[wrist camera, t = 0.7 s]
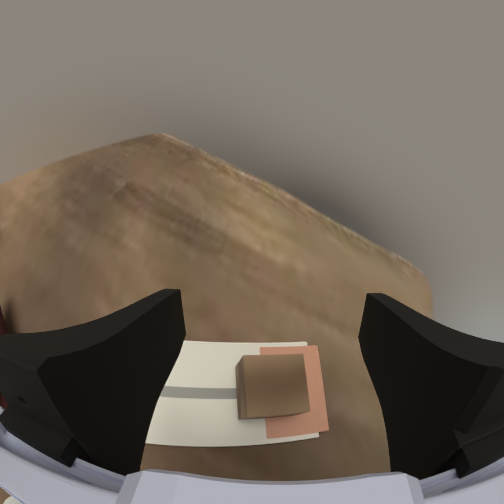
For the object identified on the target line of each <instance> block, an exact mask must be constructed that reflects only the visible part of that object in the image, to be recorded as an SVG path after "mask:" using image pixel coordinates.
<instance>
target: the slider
mask: <svg viewBox="0 0 504 504" xmlns="http://www.w3.org/2000/svg"><path fill="white" fill-rule="evenodd" d="M235 372H236V391H237V408H238V420H242V419H262V418H275V417H286V416H294V415H298V414H303V413H307V412H310V403H309V395H308V387H307V379H306V371H305V363H304V356H303V354H282V355H243V356H242V358H241V359H240V361H239V362H238V363H237V365H236V366H235Z"/></svg>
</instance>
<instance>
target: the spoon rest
mask: <svg viewBox="0 0 504 504" xmlns="http://www.w3.org/2000/svg"><path fill="white" fill-rule="evenodd" d="M3 504H22V503H20V502H19V501H18V500H16V499H15V498H14V497H12V496H10V497H8V498H7V499H6V500H5V502H4V503H3Z"/></svg>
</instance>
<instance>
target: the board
mask: <svg viewBox="0 0 504 504" xmlns="http://www.w3.org/2000/svg"><path fill="white" fill-rule="evenodd" d="M282 354H303V356H304V363H305V371H306V379H307V387H308V395H309V403H310V412H307V413H303V414H298V415H294V416H286V417H275V418H262V419H242V420H238V408H237V391H236V372H235V366H236V365H237V363H238V362H239V361H240V359H241V358H242V356H243V355H282ZM328 430H329V427H328V419H327V411H326V403H325V395H324V388H323V381H322V374H321V367H320V360H319V354H318V347H317V345H314V346H307V342H286V343H226V342H199V341H184V342H183V345H182V348H181V352H180V354H179V356H178V359H177V361H176V363H175V365H174V367H173V369H172V371H171V373H170V375H169V377H168V380H167V382H166V384H165V386H164V388H163V390H162V392H161V394H160V397H159V399H158V401H157V404H156V407H155V410H154V414H153V417H152V420H151V423H150V427H149V431H148V434H147V438H146V442H145V443H149V444H160V445H174V446H200V447H221V446H247V445H261V444H271V443H281V442H289V441H296V440H303V439H309V438H315V437H319V432H322V431H328Z"/></svg>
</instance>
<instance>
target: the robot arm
mask: <svg viewBox="0 0 504 504" xmlns="http://www.w3.org/2000/svg"><path fill="white" fill-rule="evenodd" d="M185 335H186V330H185V323H184V316H183V308H182V300H181V292H180V289H163V290H160V291H158V292H156V293H154V294H152V295H150V296H148V297H145V298H143V299H141V300H139V301H137V302H135V303H133V304H131V305H129V306H127V307H125V308H123V309H121V310H118V311H116V312H114V313H112V314H109V315H107V316H104V317H102V318H99V319H96V320H93V321H90V322H87V323H84V324H80V325H76V326H72V327H68V328H64V329H59V330H53V331H46V332H38V333H18V334H4V335H2V336H1V337H0V392H1V393H2V395H3V397H4V398H5V400H6V401H7V403H8V404H9V405H8V406H7V408H6V409H5V410H4V409H3V408H2V407H1V406H0V487H1V488H2V489H4V490H5V491H6V492H7V493H9V494H10V495H11V496H12V497H14V498H15V499H16V500H18V501H19V502H20V503H22V504H504V343H501V342H496V341H490V340H486V339H482V338H478V337H475V336H471V335H468V334H465V333H462V332H459V331H457V330H454V329H451V328H449V327H446V326H444V325H442V324H440V323H438V322H436V321H434V320H432V319H430V318H428V317H426V316H424V315H422V314H420V313H418V312H416V311H415V310H413V309H411V308H409V307H408V306H406V305H404V304H402V303H400V302H399V301H397V300H395V299H393V298H391V297H389V296H387V295H385V294H382V293H367V295H366V301H365V306H364V312H363V317H362V322H361V327H360V332H359V336H358V338H359V343H360V348H361V352H362V356H363V359H364V362H365V364H366V367H367V370H368V372H369V375H370V377H371V380H372V383H373V385H374V388H375V390H376V393H377V396H378V399H379V402H380V405H381V408H382V413H383V417H384V422H385V427H386V433H387V439H388V446H389V455H390V466H391V472H388V473H376V474H365V475H359V476H352V477H344V478H335V479H324V480H309V481H254V480H239V479H228V478H219V477H211V476H204V475H197V474H191V473H185V472H176V471H166V470H158V469H148V470H144V471H140V465H141V460H142V455H143V451H144V446H145V442H146V438H147V434H148V431H149V427H150V423H151V420H152V417H153V414H154V410H155V407H156V404H157V401H158V399H159V397H160V394H161V392H162V390H163V388H164V386H165V384H166V382H167V380H168V377H169V375H170V373H171V371H172V369H173V367H174V365H175V363H176V361H177V359H178V356H179V354H180V352H181V348H182V345H183V342H184V338H185ZM139 471H140V472H139Z"/></svg>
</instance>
